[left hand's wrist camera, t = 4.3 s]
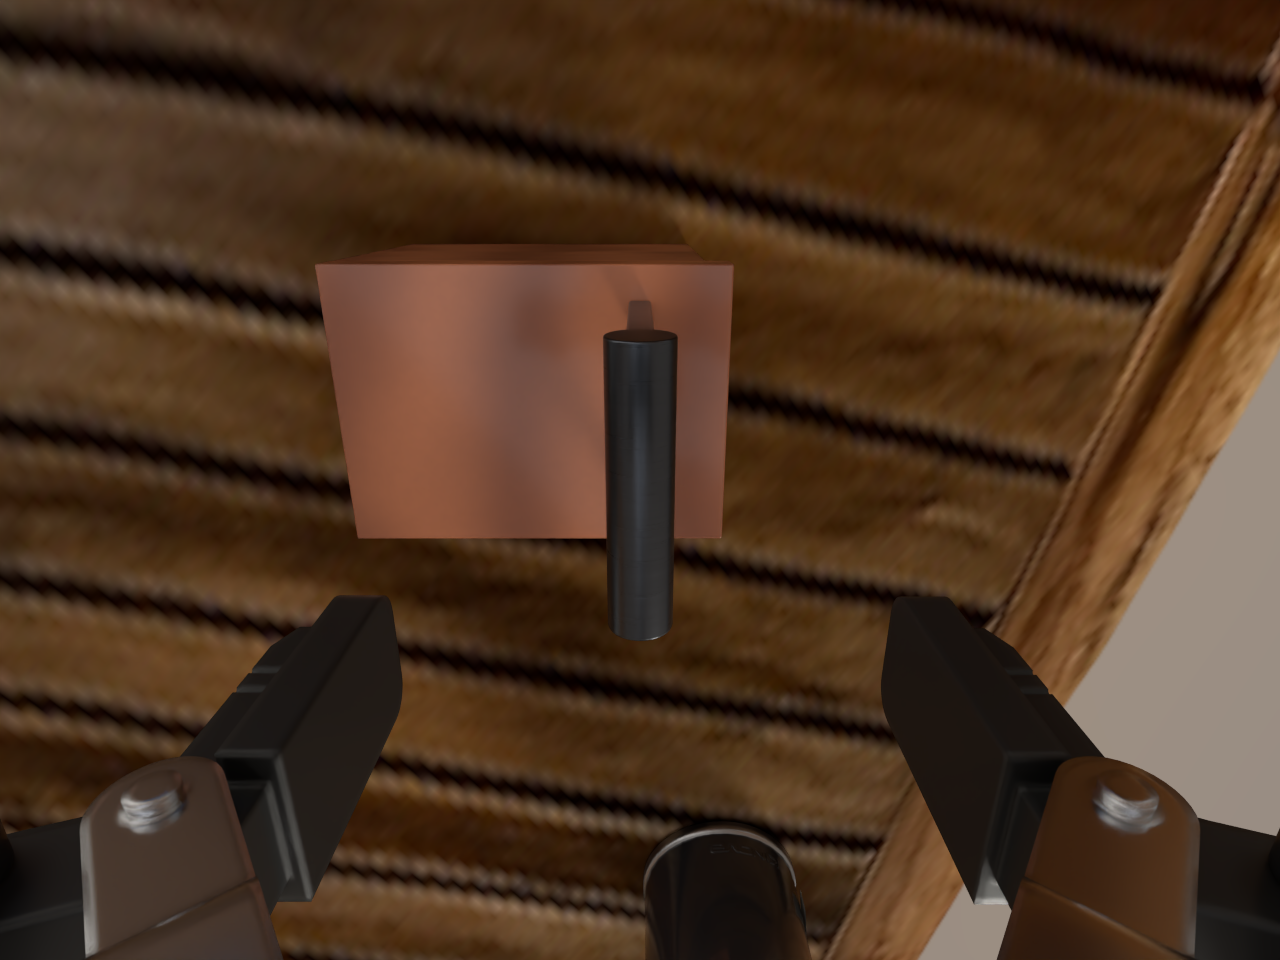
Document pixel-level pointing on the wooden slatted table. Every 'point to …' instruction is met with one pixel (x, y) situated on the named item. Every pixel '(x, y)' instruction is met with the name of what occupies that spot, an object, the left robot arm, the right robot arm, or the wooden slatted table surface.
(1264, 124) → the wooden slatted table surface
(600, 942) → the wooden slatted table surface
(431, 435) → the lid
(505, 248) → the chest
